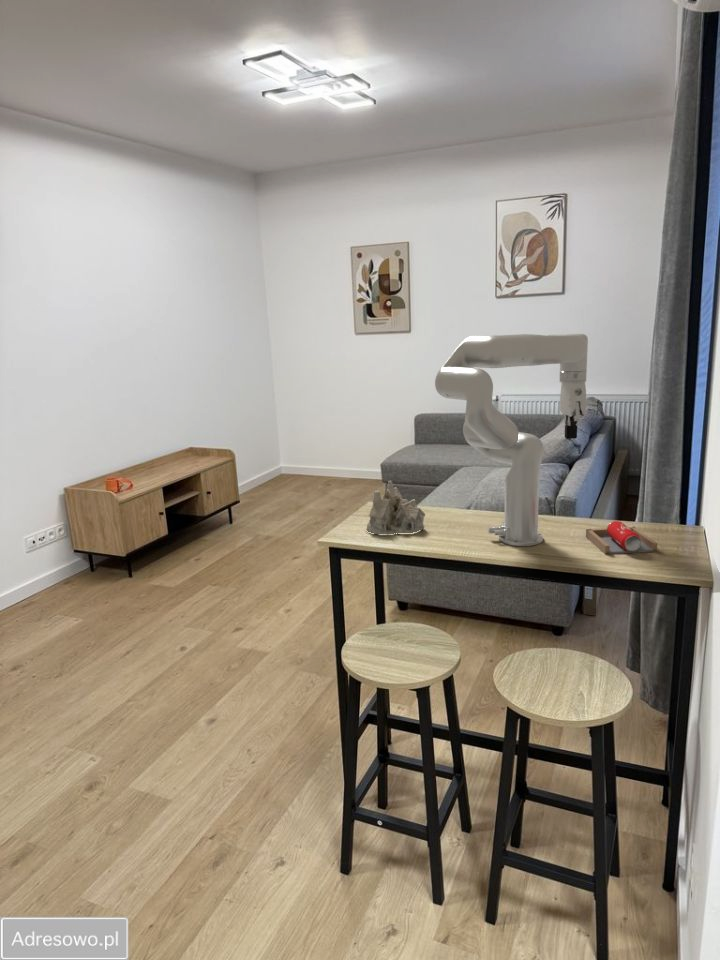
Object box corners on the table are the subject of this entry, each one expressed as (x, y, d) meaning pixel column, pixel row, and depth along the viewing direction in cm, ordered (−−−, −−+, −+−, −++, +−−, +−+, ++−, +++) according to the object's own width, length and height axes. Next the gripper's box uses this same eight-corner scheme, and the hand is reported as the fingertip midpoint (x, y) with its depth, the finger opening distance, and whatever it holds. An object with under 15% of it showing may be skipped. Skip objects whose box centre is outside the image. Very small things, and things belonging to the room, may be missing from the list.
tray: (604, 554, 176) (605, 545, 175) (585, 537, 189) (586, 529, 189) (656, 551, 176) (657, 543, 175) (633, 534, 189) (634, 526, 189)
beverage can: (641, 552, 175) (623, 536, 186) (643, 534, 173) (624, 519, 185) (622, 553, 175) (605, 537, 186) (624, 534, 173) (606, 520, 185)
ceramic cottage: (359, 529, 205) (360, 484, 201) (397, 519, 215) (399, 476, 211) (392, 544, 193) (394, 496, 189) (430, 533, 203) (433, 487, 199)
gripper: (595, 378, 183) (592, 442, 188) (576, 374, 198) (574, 433, 202) (569, 380, 183) (566, 443, 188) (552, 375, 198) (550, 434, 202)
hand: (570, 437), depth 195 cm, fingers closed
